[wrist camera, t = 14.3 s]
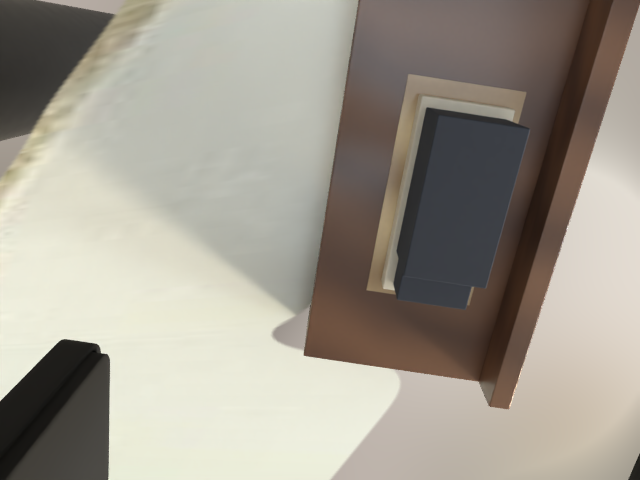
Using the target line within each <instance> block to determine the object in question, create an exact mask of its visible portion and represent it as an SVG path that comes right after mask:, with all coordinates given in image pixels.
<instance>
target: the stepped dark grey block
mask: <svg viewBox="0 0 640 480" xmlns="http://www.w3.org/2000/svg"><path fill="white" fill-rule="evenodd" d="M514 113H515V110H514V109H510V108H507V107H501V106H494V105H488V104H481V103H475V102H468V101H462V100H455V99H449V98H442V97H436V96H430V95H423V94H419V97H418V102H417V106H416V111H415V116H414V121H413V126H412V131H411V136H410V141H409V146H408V151H407V156H406V161H405V166H404V171H403V176H402V180H401V185H400V190H399V195H398V200H397V205H396V210H395V215H394V220H393V225H392V230H391V235H390V240H389V245H388V250H387V254H386V259H385V264H384V269H383V274H382V279H381V280H382V286H383V289H388V290H394V291H395V293H396V298H397V300H402V301H408V302H415V303H422V304H428V305H435V306H442V307H449V308H455V309H462V310H466V307H467V304H468V300H469V296H470V292H471V289H472V287H478V288H486V287H487V283H488V280H489V276H490V273H491V269H492V265H493V262H494V258H495V255H496V251H497V247H498V244H499V240H500V237H501V233H502V229H503V226H504V222H505V219H506V215H507V211H508V208H509V204H510V201H511V197H512V193H513V190H514V186H515V183H516V179H517V175H518V172H519V168H520V165H521V161H522V157H523V154H524V150H525V147H526V143H527V139H528V136H529V132H530V129H529V128H527V127H525V126H522V125H519V124H517V123H514V122H512V121H513V117H514Z"/></svg>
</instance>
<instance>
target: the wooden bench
mask: <svg viewBox="0 0 640 480" xmlns="http://www.w3.org/2000/svg"><path fill="white" fill-rule="evenodd" d="M639 5H640V0H359V1H358V7H357V14H356V20H355V27H354V33H353V39H352V46H351V52H350V59H349V65H348V71H347V78H346V84H345V91H344V97H343V104H342V110H341V116H340V123H339V129H338V136H337V142H336V148H335V155H334V161H333V168H332V174H331V180H330V187H329V193H328V200H327V206H326V212H325V219H324V225H323V232H322V238H321V244H320V251H319V257H318V264H317V270H316V276H315V283H314V289H313V296H312V302H311V305H310V311H309V317H308V323H307V331H306V339H305V347H304V356H309V357H316V358H322V359H329V360H336V361H343V362H349V363H356V364H363V365H370V366H377V367H383V368H390V369H397V370H404V371H410V372H417V373H424V374H431V375H438V376H444V377H451V378H458V379H465V380H472V381H478V382H479V384H480V386H481V389H482V391H483V393H484V396H485V398H486V400H487V403H488V405H489V406H490V407H496V408H503V409H510V405H511V402H512V399H513V396H514V393H515V390H516V387H517V384H518V381H519V377H520V374H521V371H522V368H523V365H524V362H525V359H526V356H527V353H528V349H529V346H530V343H531V340H532V337H533V334H534V330H535V328H536V325H537V322H538V318H539V315H540V312H541V309H542V306H543V303H544V300H545V296H546V294H547V291H548V287H549V284H550V281H551V278H552V274H553V272H554V269H555V266H556V263H557V259H558V256H559V253H560V250H561V247H562V244H563V241H564V238H565V235H566V232H567V228H568V225H569V222H570V219H571V216H572V213H573V210H574V206H575V204H576V200H577V197H578V194H579V191H580V188H581V185H582V182H583V179H584V176H585V172H586V169H587V166H588V163H589V160H590V157H591V154H592V151H593V147H594V144H595V141H596V138H597V135H598V132H599V129H600V126H601V123H602V120H603V117H604V113H605V110H606V107H607V104H608V101H609V98H610V95H611V92H612V89H613V86H614V82H615V79H616V76H617V73H618V70H619V66H620V64H621V61H622V58H623V54H624V51H625V48H626V45H627V42H628V39H629V36H630V33H631V30H632V27H633V23H634V20H635V17H636V14H637V11H638V8H639ZM419 94H423V95H430V96H436V97H442V98H449V99H455V100H462V101H468V102H475V103H481V104H488V105H494V106H501V107H507V108H510V109H514V110H515V113H514V117H513V121H512V122H514V123H517V124H519V125H522V126H525V127H527V128H529V129H530V132H529V136H528V139H527V143H526V147H525V150H524V154H523V157H522V161H521V165H520V168H519V172H518V175H517V179H516V183H515V186H514V190H513V193H512V197H511V201H510V204H509V208H508V211H507V215H506V219H505V222H504V226H503V229H502V233H501V237H500V240H499V244H498V247H497V251H496V255H495V258H494V262H493V265H492V269H491V273H490V276H489V280H488V283H487V287H486V288H478V287H472V289H471V292H470V296H469V300H468V304H467V307H466V310H462V309H455V308H449V307H442V306H435V305H428V304H422V303H415V302H408V301H402V300H397V298H396V293H395V291H394V290H388V289H383V286H382V280H381V279H382V274H383V269H384V264H385V259H386V254H387V250H388V245H389V240H390V235H391V230H392V225H393V220H394V215H395V210H396V205H397V200H398V195H399V190H400V185H401V180H402V176H403V171H404V166H405V161H406V156H407V151H408V146H409V141H410V136H411V131H412V126H413V121H414V116H415V111H416V106H417V102H418V97H419Z"/></svg>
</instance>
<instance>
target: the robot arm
mask: <svg viewBox="0 0 640 480" xmlns="http://www.w3.org/2000/svg"><path fill="white" fill-rule="evenodd" d="M109 387H110V359H109V356H108V355H107V354H102V353H101V351H100V347H99V345H97V344H94V343H87V342H80V341H74V340H67V339H64V340H61V341H60V342H58V343H57V344H56V345H55V346H54V347H53V348H52V349H51V350H50V351H49V352H48V353H47V354H46V355H45V356H44V357H43V358H42V359H41V360H40V361H39V362H38V363H37V365H36V366H35V367H34V368H33V369H32V370H31V371H30V372H29V373H28V374H27V375H26V376H25V377H24V378H23V379H22V380H21V381H20V382H19V383H18V384H17V385H16V386H15V387H14V388H13V389H12V390H11V391H10V392H9V393H8V394H7V395H6V396H5V397H4V398H3V399H2V400H1V401H0V480H108V466H109ZM628 480H640V454H639V456H638V459H637V461H636V463H635V466H634V468H633V470H632V472H631V475H630V477H629V479H628Z"/></svg>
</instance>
